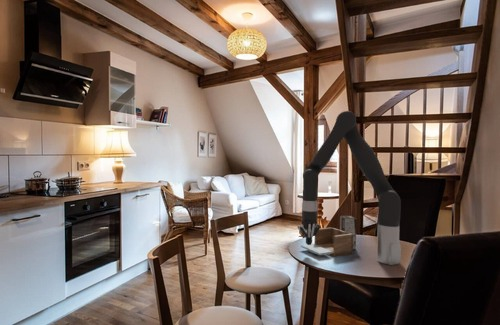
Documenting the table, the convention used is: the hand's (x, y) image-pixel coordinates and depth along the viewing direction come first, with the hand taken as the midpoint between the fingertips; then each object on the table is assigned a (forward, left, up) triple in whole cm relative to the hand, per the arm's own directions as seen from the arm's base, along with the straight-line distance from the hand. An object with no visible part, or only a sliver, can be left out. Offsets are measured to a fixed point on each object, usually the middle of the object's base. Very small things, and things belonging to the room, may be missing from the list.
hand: (308, 244), depth 156 cm
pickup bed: (0, -15, -5) cm, 16 cm away
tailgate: (0, -8, -3) cm, 9 cm away
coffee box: (+3, -28, -5) cm, 29 cm away
